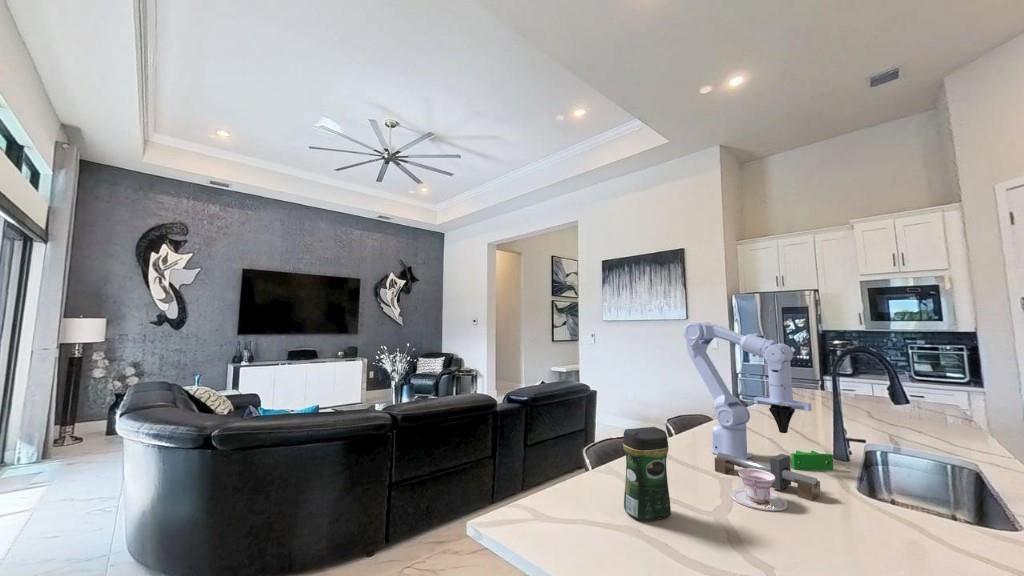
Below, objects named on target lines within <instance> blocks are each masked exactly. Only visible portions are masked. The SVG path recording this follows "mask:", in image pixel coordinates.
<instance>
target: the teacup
mask: <svg viewBox="0 0 1024 576" xmlns="http://www.w3.org/2000/svg"><path fill="white" fill-rule="evenodd" d="M737 474H738V476H739V477H740V479H741V481H742V483H743V484H744V485H743V486H744V488H737V489H733V490H731V491H730V493H729V495H730V498H731V499H732V500H733V501H734V502H736V503H738V504H740V505H742V506H745V507H748V508H751V509H754V510H759V511H765V512H779V511H780V512H782V511H785V510H787V509H788V508H789V504H788V502H787V501H786V500H785V499H784V498H783V497H781V496H779V495H777V494H775V493H771V487H772V483H774V482H775V480H776V478H775V476H774V475H773V474H771V473H769V472H767V471H764V470H760V469H753V468H741V469H739V470H738V472H737ZM748 498H749V499H748ZM766 501H768V502H769V501H770V502H769V503H768V504H766ZM757 502H758V503H757ZM751 503H754V504H751ZM764 503H765V504H764ZM770 503H771V507H768V508H767V509H766V507H767V506H768V505H769V504H770ZM756 504H763V505H764V508H765V509H763V508H757V507H753V506H754V505H756ZM752 505H753V506H752ZM773 506H774V509H772V507H773ZM770 508H771V509H770Z"/></svg>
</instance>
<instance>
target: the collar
mask: <svg viewBox="0 0 1024 576" xmlns="http://www.w3.org/2000/svg"><path fill="white" fill-rule="evenodd" d="M769 458H770V459H769V461H770V462H769V463H770V465H769V466H771V474H773V475H774V476H775V478H776V480H775V482H774V483H772V487H771V488H772V489H775V490H778V491H781V490H783V489H785V488H786V487H789V486H791V485H792V482H791V481H788V480H784V479H782V469H784V470H788V471H791V469H792V468H791V455H789V454H784V453H780V454H777V455H774V456H772V457H769ZM771 488H770V489H771Z"/></svg>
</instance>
